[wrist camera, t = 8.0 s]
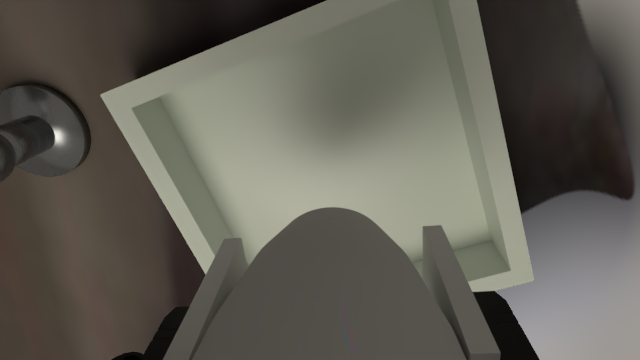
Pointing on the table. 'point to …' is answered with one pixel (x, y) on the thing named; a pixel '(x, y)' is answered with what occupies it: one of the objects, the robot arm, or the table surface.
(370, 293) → the cup
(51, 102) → the stud post
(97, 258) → the table surface
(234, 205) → the bin
